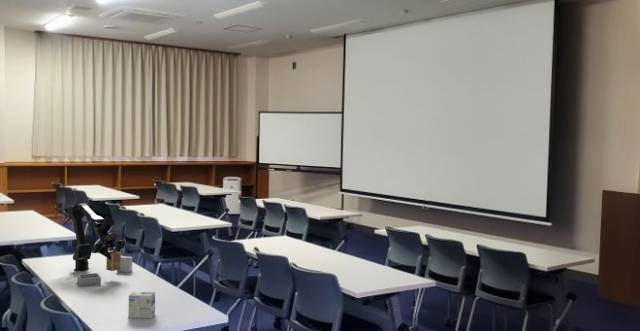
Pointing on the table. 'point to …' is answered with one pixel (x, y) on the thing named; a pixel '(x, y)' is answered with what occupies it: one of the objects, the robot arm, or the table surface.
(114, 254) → the small crate
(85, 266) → the robot arm
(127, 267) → the medicine box
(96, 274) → the grey square tray
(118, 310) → the table surface
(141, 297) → the light bulb box
